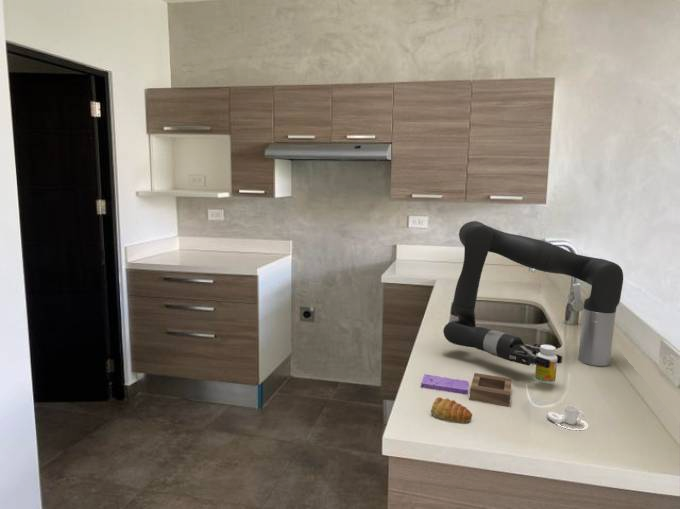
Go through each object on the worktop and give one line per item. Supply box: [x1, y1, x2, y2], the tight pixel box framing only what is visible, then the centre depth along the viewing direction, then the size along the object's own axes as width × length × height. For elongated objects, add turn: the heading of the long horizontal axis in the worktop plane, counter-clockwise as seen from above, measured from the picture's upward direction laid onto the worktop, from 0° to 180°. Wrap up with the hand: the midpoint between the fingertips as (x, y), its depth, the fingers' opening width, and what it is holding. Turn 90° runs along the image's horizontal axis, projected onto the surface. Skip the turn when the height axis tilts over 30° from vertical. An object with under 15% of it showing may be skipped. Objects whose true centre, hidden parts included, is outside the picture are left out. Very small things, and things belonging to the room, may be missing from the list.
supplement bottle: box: [534, 344, 558, 384], centre depth 144 cm, size 5×5×10 cm
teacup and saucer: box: [546, 404, 589, 432], centre depth 123 cm, size 9×8×4 cm
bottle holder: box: [469, 372, 513, 407], centre depth 138 cm, size 12×10×3 cm
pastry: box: [430, 396, 473, 424], centre depth 124 cm, size 9×7×4 cm
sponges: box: [420, 373, 469, 395], centre depth 142 cm, size 7×13×2 cm, turn 73°
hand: (555, 362), depth 142 cm, fingers closed on supplement bottle, 5 cm apart
